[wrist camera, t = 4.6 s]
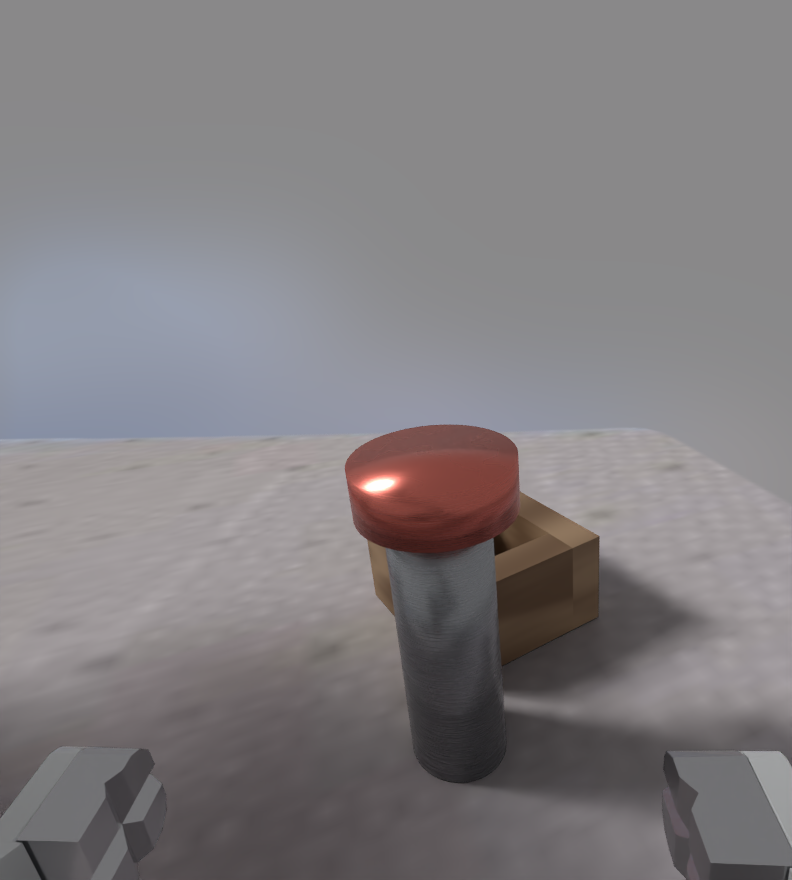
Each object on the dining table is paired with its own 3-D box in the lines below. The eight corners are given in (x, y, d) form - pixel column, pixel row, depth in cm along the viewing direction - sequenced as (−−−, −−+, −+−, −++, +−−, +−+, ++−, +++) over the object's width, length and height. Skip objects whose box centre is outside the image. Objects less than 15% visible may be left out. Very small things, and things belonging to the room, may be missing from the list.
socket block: (375, 594, 36) (364, 522, 34) (497, 544, 40) (493, 476, 38) (456, 688, 29) (448, 602, 27) (598, 616, 32) (599, 536, 30)
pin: (368, 724, 27) (320, 454, 22) (477, 669, 30) (455, 413, 25) (435, 834, 22) (393, 517, 17) (560, 758, 25) (555, 459, 20)
